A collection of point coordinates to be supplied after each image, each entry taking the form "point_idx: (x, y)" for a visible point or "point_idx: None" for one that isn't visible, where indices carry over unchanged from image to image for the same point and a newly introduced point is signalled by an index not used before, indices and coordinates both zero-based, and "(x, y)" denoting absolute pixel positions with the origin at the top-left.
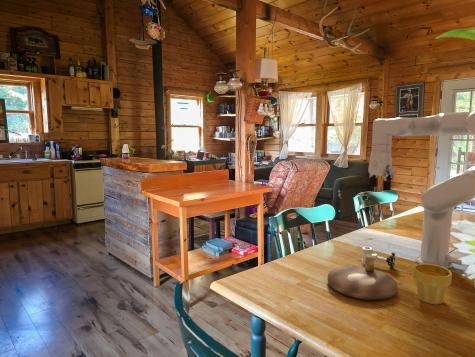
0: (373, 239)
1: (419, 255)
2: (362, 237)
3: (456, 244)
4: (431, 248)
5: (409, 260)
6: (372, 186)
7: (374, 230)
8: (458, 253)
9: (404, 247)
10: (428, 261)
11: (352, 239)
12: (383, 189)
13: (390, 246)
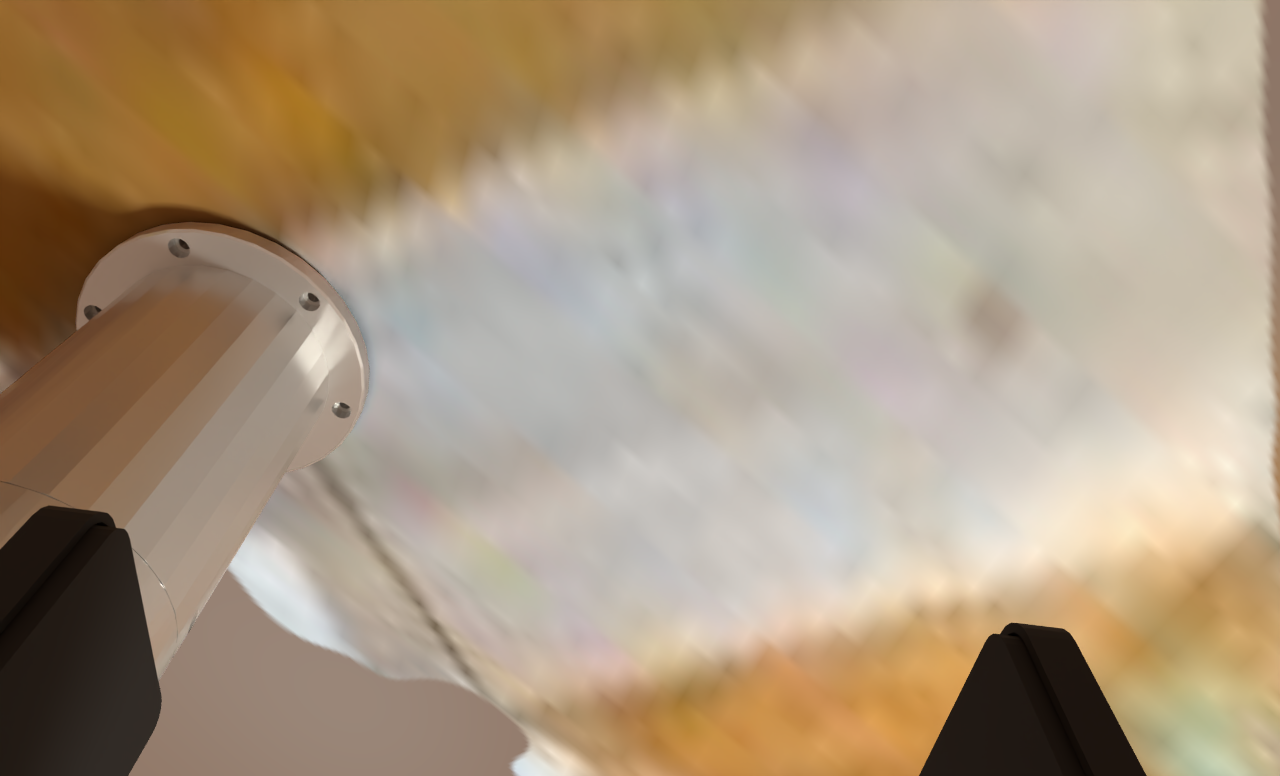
0: (957, 337)
1: (354, 350)
2: (1075, 277)
3: (561, 769)
4: (62, 347)
5: (329, 215)
6: (973, 689)
7: (1159, 536)
8: (398, 653)
9: (639, 428)
10: (151, 277)
11: (1094, 117)
12: (51, 522)
13: (710, 337)
